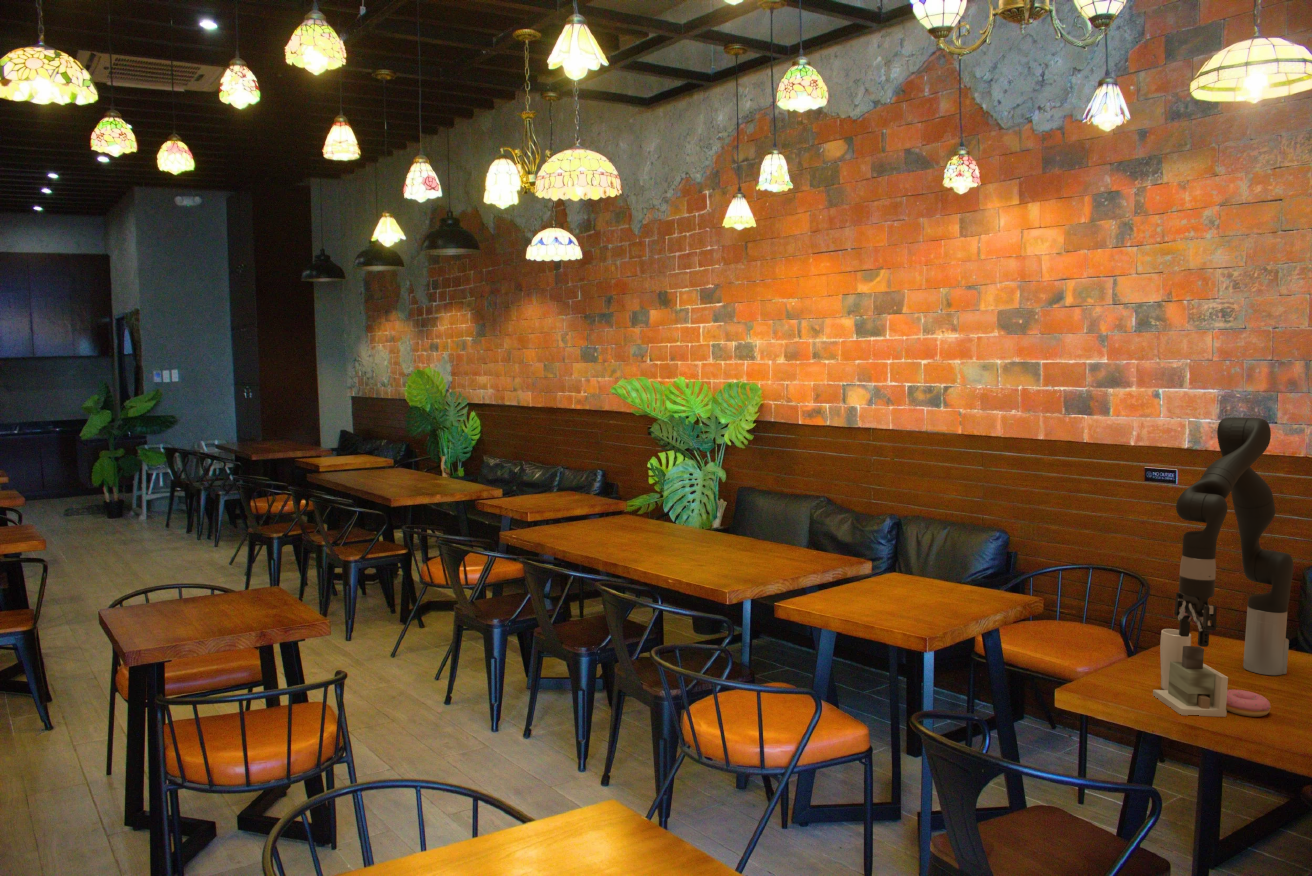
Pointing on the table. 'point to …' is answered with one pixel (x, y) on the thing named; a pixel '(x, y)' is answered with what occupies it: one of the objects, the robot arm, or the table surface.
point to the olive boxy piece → (1191, 677)
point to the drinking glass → (1171, 652)
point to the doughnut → (1247, 703)
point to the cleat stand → (1200, 699)
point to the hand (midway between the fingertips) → (1193, 641)
